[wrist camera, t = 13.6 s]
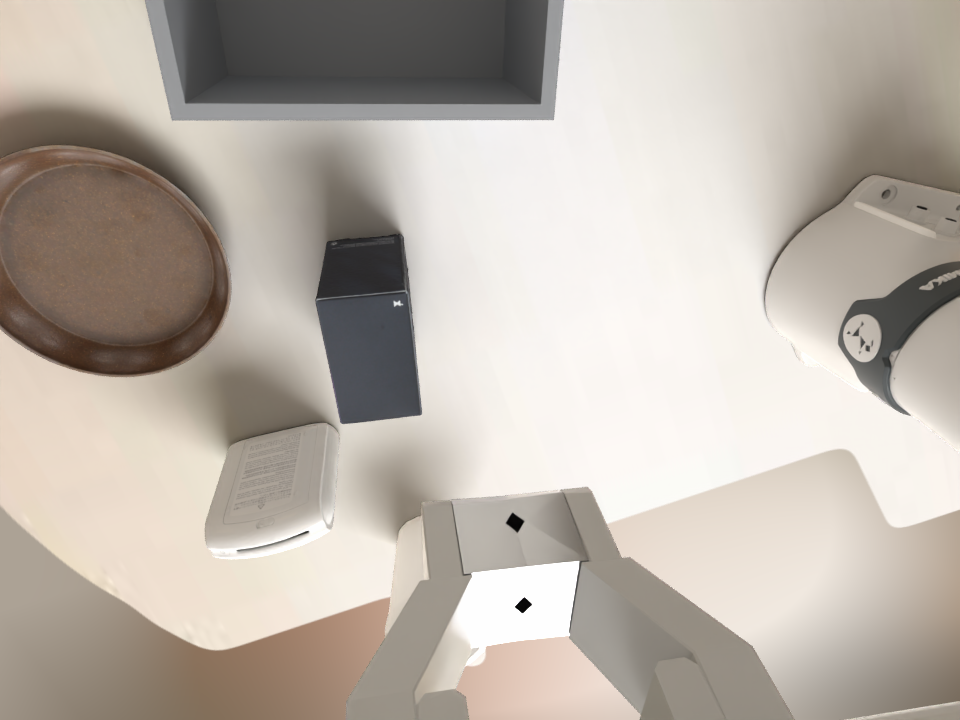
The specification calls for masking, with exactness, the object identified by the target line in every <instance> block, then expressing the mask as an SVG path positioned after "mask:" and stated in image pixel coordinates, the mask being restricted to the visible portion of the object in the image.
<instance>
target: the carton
mask: <svg viewBox="0 0 960 720" xmlns="http://www.w3.org/2000/svg"><path fill="white" fill-rule="evenodd" d="M145 3H146V8H147V12H148V17H149V21H150V25H151V30H152V34H153V39H154V43H155V48H156V52H157V56H158V61H159V65H160V70H161V74H162V79H163V83H164V87H165V92H166V96H167V101H168V105H169V110H170V114H171V118H172V120H554V112H555V100H556V88H557V76H558V65H559V53H560V41H561V29H562V17H563V5H564V0H145Z"/></svg>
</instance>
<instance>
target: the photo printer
mask: <svg viewBox="0 0 960 720" xmlns="http://www.w3.org/2000/svg"><path fill="white" fill-rule="evenodd" d="M339 443H340V438H339V434H338V432H337V431H336V430H335V429H334V428H333V427H332V426H331V425H328V424H327V423H316V424H310V425H305V426H300V427H296V428H291V429H287V430H282V431H278V432H274V433H269V434H265V435H261V436H256V437H253V438H249V439H245V440H242V441H239V442H236V443H234V444H232V445H231V446H230V447H229V449H228V452H227V455H226V459H225V462H224V465H223V468H222V471H221V475H220V478H219V481H218V484H217V487H216V491H215V494H214V497H213V500H212V503H211V506H210V510H209V513H208V516H207V519H206V523H205V541H206V546H207V548H208V549H209V550H210V551H211V552H212V555H213V557H215V558H222V559H246V558H255V557H261V556H266V555H271V554H275V553H279V552H282V551H286V550H289V549H292V548H295V547H298V546H301V545H303V544H306V543H308V542H310V541H313V540H315V539H317V538H319V537H321V536H322V535H324V534H326V533H327V532H329V531H330V530H331V529H332V527H333V520H334V508H335V496H336V484H337V472H338V458H339Z"/></svg>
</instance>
